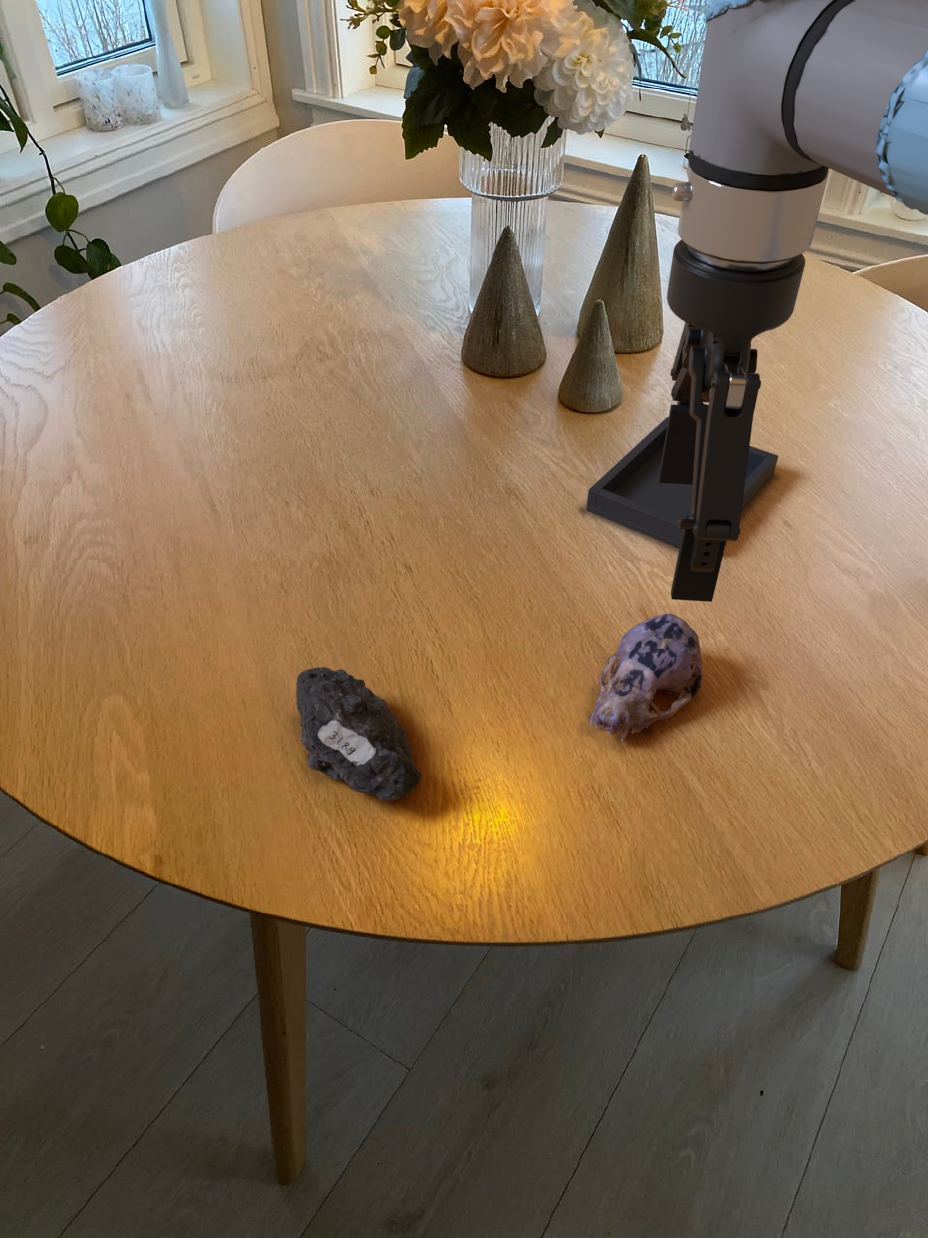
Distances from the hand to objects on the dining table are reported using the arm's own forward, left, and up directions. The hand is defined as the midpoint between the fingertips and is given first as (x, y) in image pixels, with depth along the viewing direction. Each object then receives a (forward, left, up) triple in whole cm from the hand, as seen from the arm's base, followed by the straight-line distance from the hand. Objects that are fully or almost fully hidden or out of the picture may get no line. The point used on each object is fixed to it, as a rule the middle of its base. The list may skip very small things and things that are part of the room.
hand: (683, 535), depth 70 cm
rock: (+15, +21, -16) cm, 30 cm away
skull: (0, +3, -16) cm, 16 cm away
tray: (+10, -25, -15) cm, 31 cm away
